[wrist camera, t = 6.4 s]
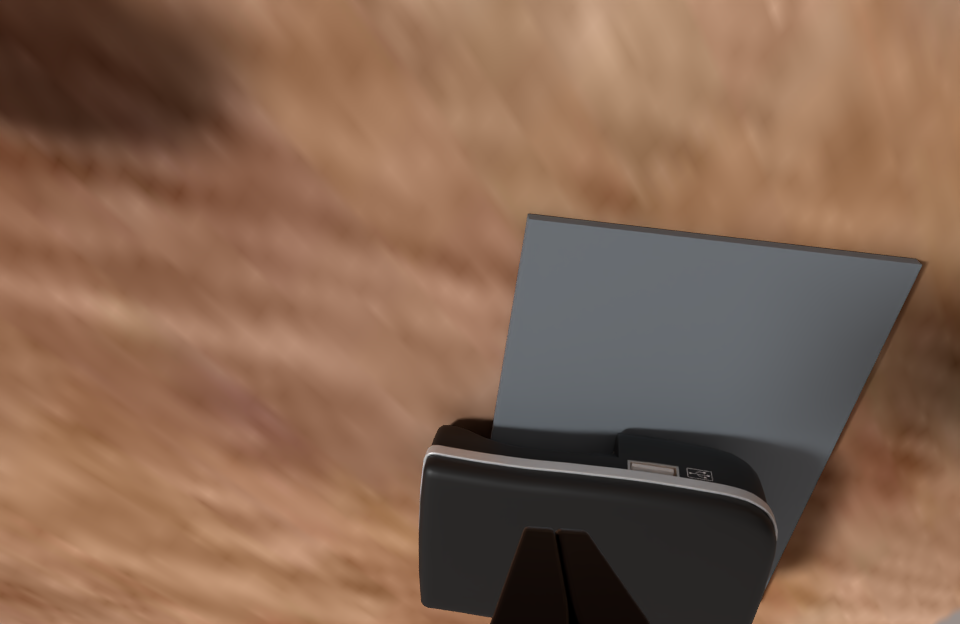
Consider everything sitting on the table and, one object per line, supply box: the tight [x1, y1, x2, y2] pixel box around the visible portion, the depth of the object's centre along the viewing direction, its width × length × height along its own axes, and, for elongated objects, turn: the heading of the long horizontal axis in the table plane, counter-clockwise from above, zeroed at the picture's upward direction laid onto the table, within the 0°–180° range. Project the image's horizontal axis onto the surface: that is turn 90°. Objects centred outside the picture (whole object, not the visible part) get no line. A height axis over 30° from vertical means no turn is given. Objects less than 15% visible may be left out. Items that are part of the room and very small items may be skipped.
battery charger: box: [419, 425, 778, 624], centre depth 25 cm, size 7×4×11 cm
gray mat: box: [490, 214, 922, 589], centre depth 26 cm, size 12×16×1 cm
